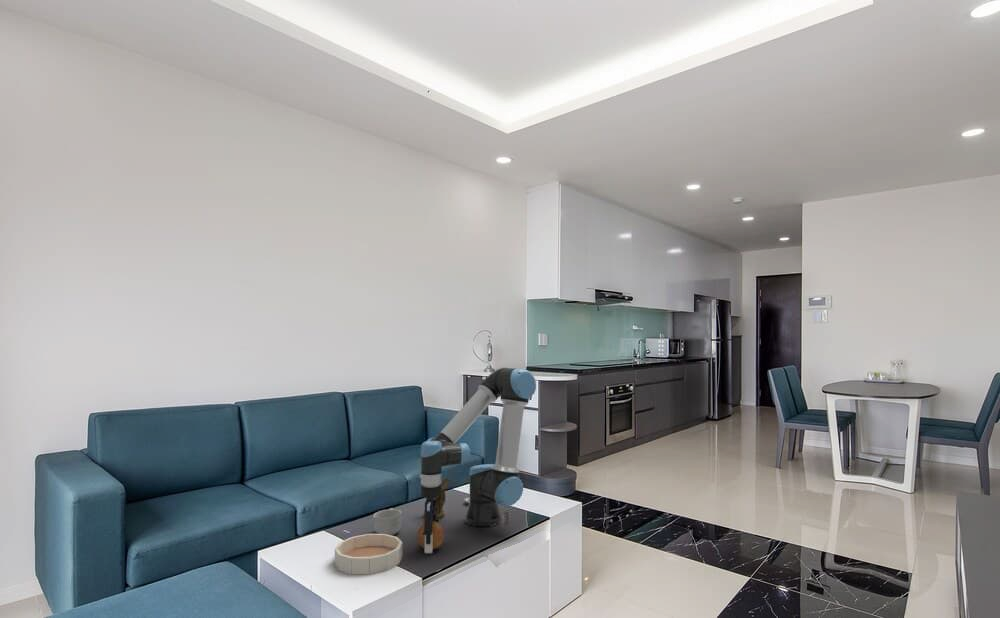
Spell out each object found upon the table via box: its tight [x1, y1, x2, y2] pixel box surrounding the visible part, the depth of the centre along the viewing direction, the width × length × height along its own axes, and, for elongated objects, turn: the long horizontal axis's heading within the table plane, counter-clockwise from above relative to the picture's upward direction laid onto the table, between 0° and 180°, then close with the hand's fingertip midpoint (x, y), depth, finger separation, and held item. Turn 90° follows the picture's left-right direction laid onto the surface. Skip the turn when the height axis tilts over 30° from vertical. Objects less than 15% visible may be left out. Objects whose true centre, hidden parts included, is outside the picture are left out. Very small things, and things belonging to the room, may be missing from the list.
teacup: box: [372, 507, 402, 536], centre depth 210 cm, size 14×11×8 cm
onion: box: [417, 521, 445, 550], centre depth 193 cm, size 10×10×10 cm
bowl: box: [334, 533, 403, 575], centre depth 183 cm, size 22×22×5 cm
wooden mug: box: [422, 476, 451, 520], centre depth 228 cm, size 9×14×18 cm, turn 49°
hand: (430, 546), depth 193 cm, fingers closed on onion, 10 cm apart
